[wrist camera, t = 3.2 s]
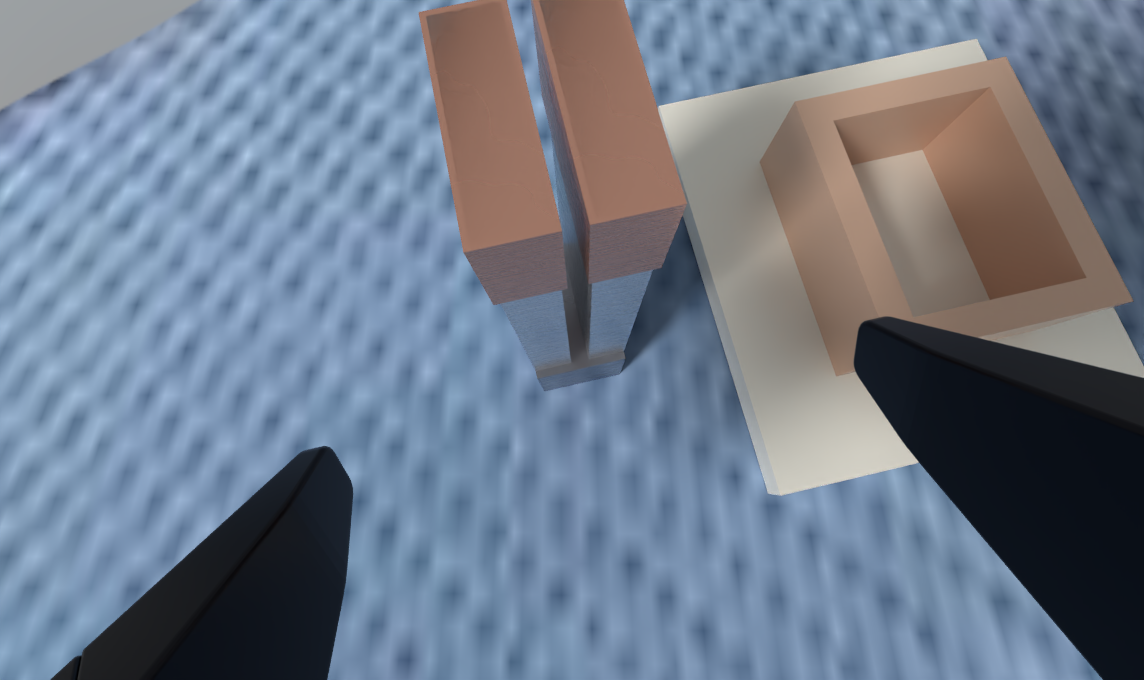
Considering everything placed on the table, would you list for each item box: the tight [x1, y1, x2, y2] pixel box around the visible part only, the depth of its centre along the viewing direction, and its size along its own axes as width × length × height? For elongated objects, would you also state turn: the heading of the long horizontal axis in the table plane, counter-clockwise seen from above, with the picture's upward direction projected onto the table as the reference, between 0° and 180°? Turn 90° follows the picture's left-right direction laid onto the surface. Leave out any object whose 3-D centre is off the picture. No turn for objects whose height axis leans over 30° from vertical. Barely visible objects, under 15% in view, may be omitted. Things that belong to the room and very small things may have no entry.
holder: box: [658, 39, 1144, 496], centre depth 18 cm, size 16×14×5 cm
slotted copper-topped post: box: [419, 0, 687, 391], centre depth 14 cm, size 4×3×13 cm
